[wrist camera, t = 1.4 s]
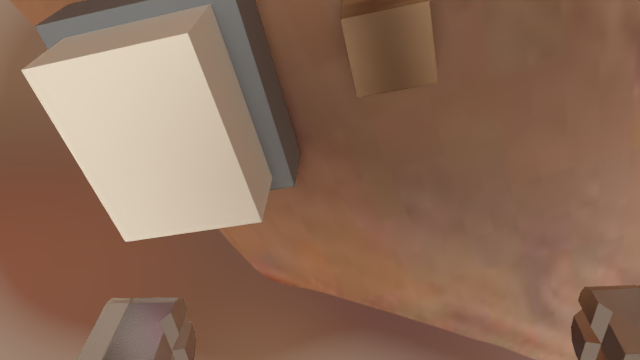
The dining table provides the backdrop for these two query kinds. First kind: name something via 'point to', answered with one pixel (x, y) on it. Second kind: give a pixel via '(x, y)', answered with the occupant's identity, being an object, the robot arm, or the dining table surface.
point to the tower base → (244, 51)
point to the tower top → (157, 124)
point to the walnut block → (389, 44)
